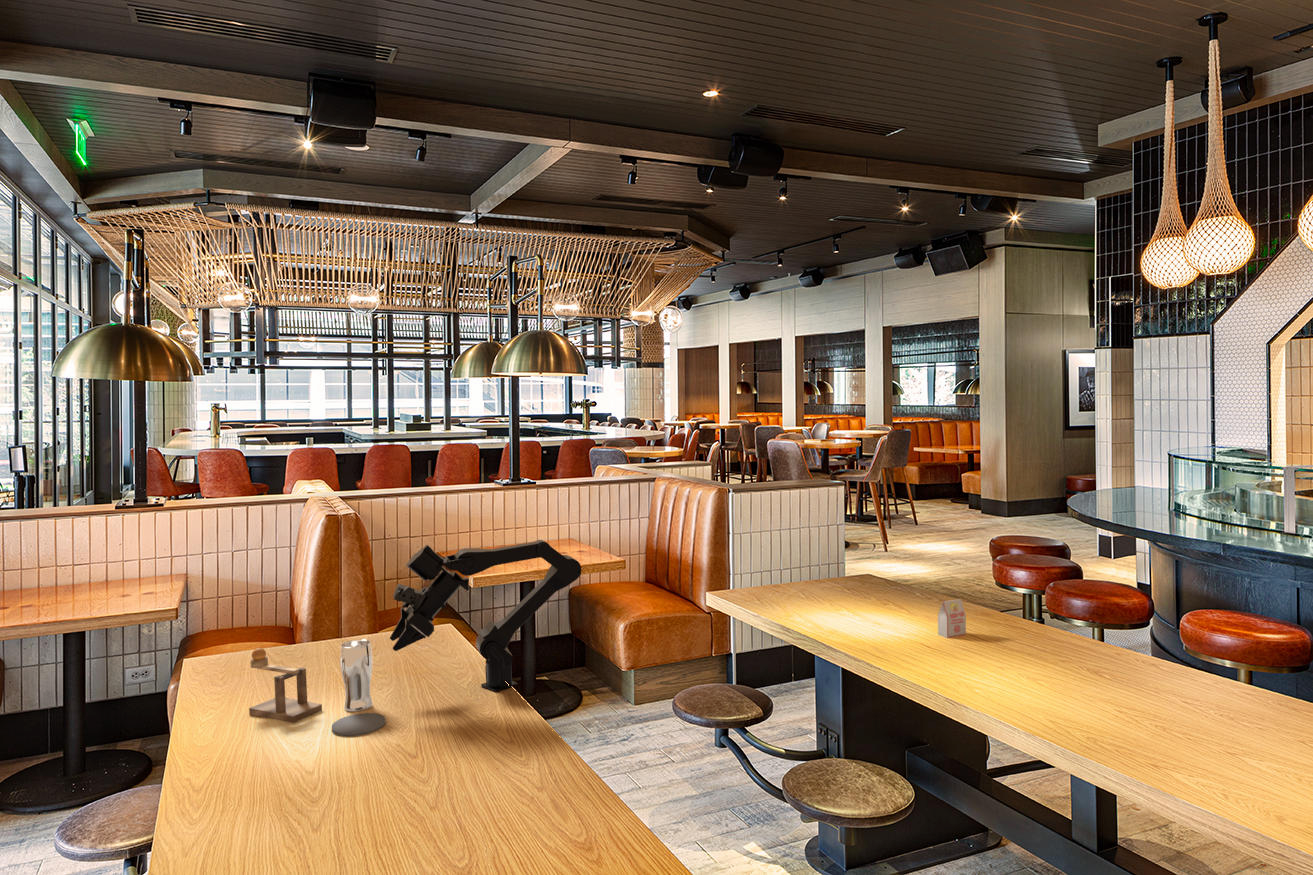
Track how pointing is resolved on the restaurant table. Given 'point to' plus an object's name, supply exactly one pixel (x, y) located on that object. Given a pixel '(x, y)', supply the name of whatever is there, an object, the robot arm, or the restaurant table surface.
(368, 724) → the mat
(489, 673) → the robot arm
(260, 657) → the toy catapult
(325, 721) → the restaurant table surface
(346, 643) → the beer glass
